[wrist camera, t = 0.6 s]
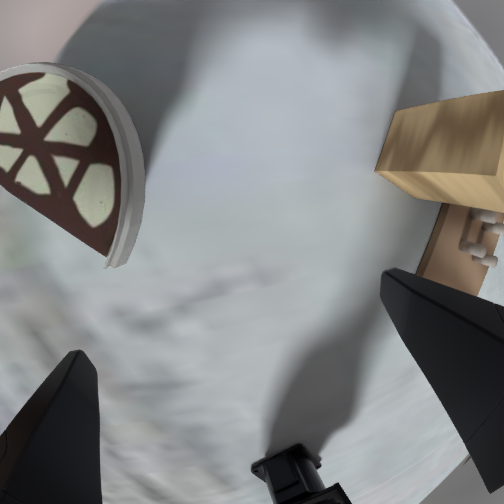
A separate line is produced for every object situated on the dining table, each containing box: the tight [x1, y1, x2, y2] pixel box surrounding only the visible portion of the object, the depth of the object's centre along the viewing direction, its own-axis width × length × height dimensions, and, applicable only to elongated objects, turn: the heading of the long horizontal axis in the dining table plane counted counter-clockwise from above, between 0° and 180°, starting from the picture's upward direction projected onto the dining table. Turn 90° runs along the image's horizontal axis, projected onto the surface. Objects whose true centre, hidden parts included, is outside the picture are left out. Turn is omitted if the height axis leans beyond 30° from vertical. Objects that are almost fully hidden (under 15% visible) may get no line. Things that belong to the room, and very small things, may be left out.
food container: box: [0, 62, 146, 269], centre depth 13 cm, size 12×6×10 cm, turn 55°
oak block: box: [375, 90, 504, 213], centre depth 17 cm, size 6×5×12 cm
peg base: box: [416, 202, 504, 296], centre depth 25 cm, size 14×11×4 cm
